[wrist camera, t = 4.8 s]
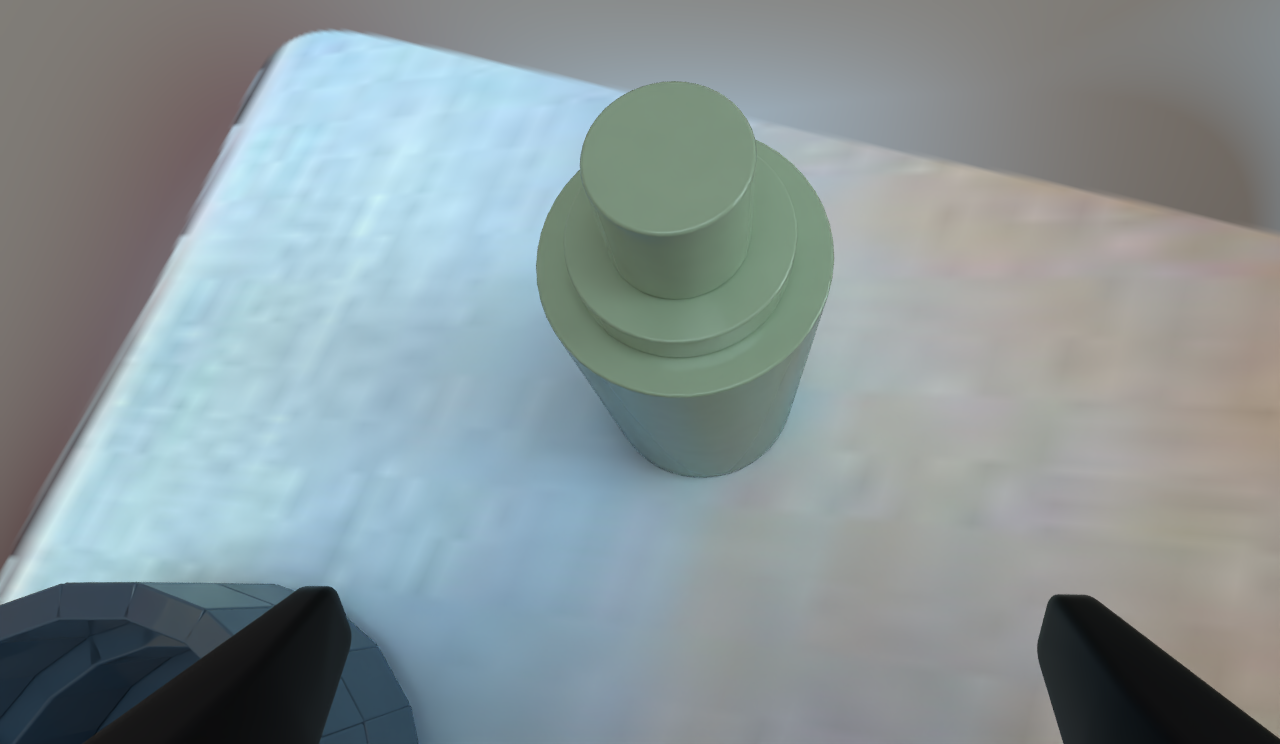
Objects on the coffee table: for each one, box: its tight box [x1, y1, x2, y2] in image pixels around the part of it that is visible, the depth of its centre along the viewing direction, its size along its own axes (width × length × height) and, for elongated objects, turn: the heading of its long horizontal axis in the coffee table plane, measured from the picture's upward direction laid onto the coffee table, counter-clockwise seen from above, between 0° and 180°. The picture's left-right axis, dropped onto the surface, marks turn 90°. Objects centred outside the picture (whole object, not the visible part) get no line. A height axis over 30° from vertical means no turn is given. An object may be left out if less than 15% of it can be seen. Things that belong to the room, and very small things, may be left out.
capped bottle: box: [536, 81, 834, 477], centre depth 16 cm, size 5×5×12 cm
